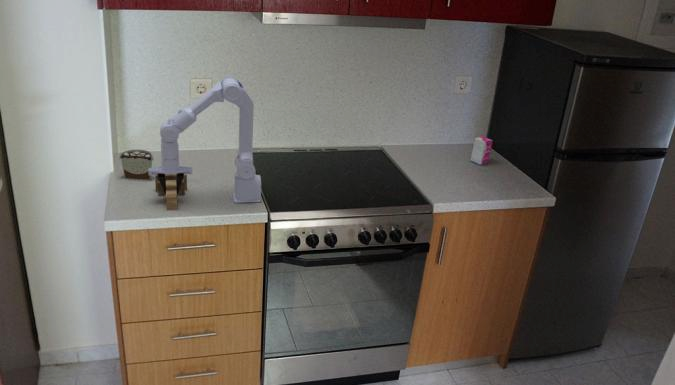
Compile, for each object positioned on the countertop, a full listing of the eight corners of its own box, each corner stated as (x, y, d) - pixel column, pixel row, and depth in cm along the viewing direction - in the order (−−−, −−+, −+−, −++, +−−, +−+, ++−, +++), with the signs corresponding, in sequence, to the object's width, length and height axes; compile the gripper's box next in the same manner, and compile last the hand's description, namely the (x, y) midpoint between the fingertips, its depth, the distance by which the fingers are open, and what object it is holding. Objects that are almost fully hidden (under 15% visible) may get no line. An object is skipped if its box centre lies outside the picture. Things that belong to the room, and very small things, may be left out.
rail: (166, 192, 217) (165, 179, 215) (176, 191, 218) (176, 179, 216) (166, 210, 204) (166, 196, 202) (177, 209, 205) (176, 196, 203)
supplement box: (480, 166, 267) (485, 141, 262) (469, 161, 271) (474, 137, 266) (488, 163, 270) (493, 139, 266) (478, 159, 274) (482, 135, 270)
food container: (158, 174, 230) (157, 150, 226) (154, 180, 225) (153, 156, 220) (125, 172, 229) (123, 147, 225) (120, 178, 224) (118, 153, 220)
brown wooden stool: (187, 188, 221) (186, 173, 218) (187, 194, 216) (187, 179, 214) (155, 189, 218) (155, 174, 215) (155, 195, 213) (154, 180, 211)
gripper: (191, 152, 209) (192, 187, 215) (148, 152, 206) (150, 188, 211) (192, 159, 203) (193, 195, 209) (147, 160, 199) (149, 197, 205)
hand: (171, 192), depth 210 cm, fingers closed on rail, 3 cm apart
